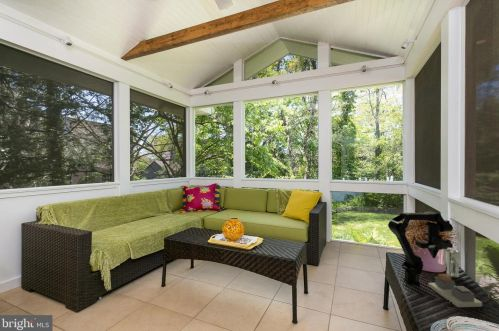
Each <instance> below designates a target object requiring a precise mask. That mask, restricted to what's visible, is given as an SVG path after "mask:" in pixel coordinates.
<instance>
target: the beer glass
mask: <svg viewBox="0 0 499 331" xmlns="http://www.w3.org/2000/svg"><path fill="white" fill-rule="evenodd" d="M445 263H446V268H447V269H446V273H445V274H446V275H448V276H450V277H451V278H459V277H460V273H459V269H460V268H459V267H460V264H461V254H460V252H459V251H458V250H455V249H450V248H447V249H445Z"/></svg>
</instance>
